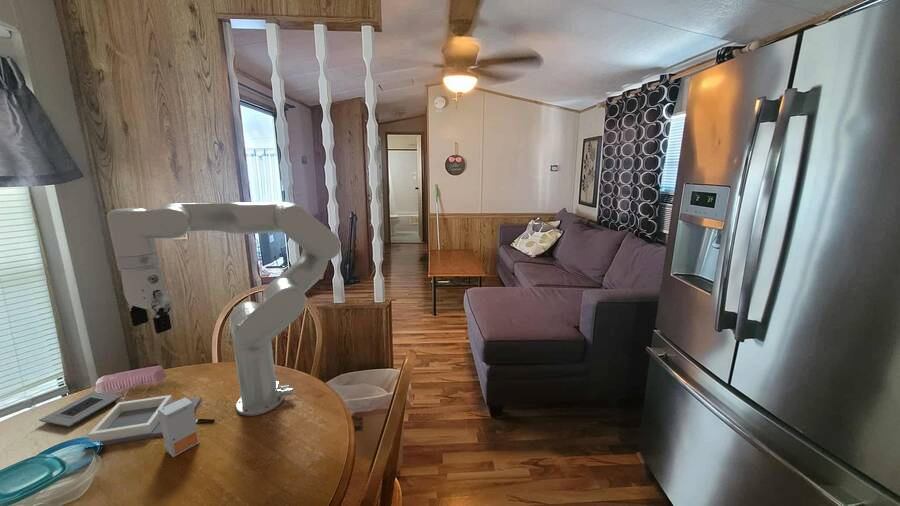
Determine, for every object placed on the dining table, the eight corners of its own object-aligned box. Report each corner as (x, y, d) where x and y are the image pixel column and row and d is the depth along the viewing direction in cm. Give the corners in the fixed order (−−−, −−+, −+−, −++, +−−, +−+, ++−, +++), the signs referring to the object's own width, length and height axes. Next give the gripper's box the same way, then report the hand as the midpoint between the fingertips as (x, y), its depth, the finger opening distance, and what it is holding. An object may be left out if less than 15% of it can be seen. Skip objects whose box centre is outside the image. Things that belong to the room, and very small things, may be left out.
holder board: (201, 400, 109) (199, 390, 108) (182, 432, 96) (179, 420, 95) (117, 412, 103) (114, 402, 102) (84, 448, 90) (81, 436, 89)
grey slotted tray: (70, 432, 96) (68, 424, 95) (40, 426, 98) (38, 418, 97) (123, 401, 108) (121, 394, 108) (95, 397, 111) (94, 390, 110)
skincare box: (173, 458, 87) (164, 416, 84) (165, 451, 89) (156, 409, 86) (200, 442, 92) (193, 402, 89) (193, 436, 94) (185, 396, 91)
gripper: (178, 261, 85) (189, 327, 89) (136, 253, 91) (149, 315, 95) (140, 269, 78) (155, 340, 82) (98, 260, 85) (114, 327, 89)
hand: (152, 327), depth 89 cm, fingers open, 9 cm apart
